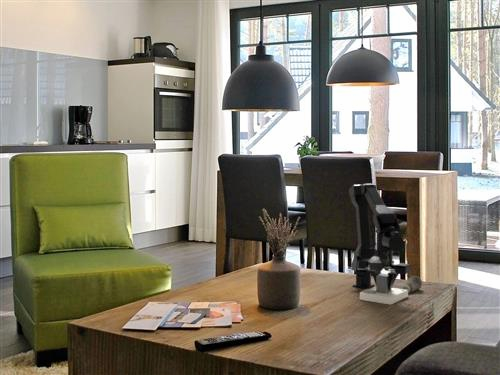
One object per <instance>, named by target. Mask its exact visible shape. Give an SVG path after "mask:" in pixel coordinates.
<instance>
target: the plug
mask: <svg viewBox="0 0 500 375" xmlns="http://www.w3.org/2000/svg"><path fill="white" fill-rule="evenodd" d="M388 282H389V276H388V273H382V272H381V274H378V275H376V284H375V286H376V292H379V293H385V294H389V293H390V292H391V291H388Z"/></svg>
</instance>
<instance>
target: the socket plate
mask: <svg viewBox="0 0 500 375" xmlns="http://www.w3.org/2000/svg"><path fill="white" fill-rule="evenodd" d="M408 294H409V293H408V290H404V289H402V288H397V287H392V288H391V292H390V293H389V294H385V293H379V292H376V285H374V286H372V287H369V288H365V289H364V290H362V291H361V292H359V300H361V301H366V302H371V303H378V304H386V305H393V304H395V303H397V302H400V301H401V300H405V299H406V298H408V297H409V296H408Z"/></svg>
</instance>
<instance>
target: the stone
mask: <svg viewBox="0 0 500 375" xmlns="http://www.w3.org/2000/svg"><path fill="white" fill-rule="evenodd" d="M422 287H423V281H422V279H421V278H420V277H419V276H416V275H411V276H410V277H409V278H408V279H407V281H406V282H405V284H404V285H403V286H402V288H401V289H404V290H408V294H409V293H413V292H415V291H418V290H420V289H421V288H422Z"/></svg>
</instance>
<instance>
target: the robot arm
mask: <svg viewBox="0 0 500 375" xmlns="http://www.w3.org/2000/svg"><path fill="white" fill-rule="evenodd" d="M348 193H349V194H348V195H349V197H350V202H351V203H352V205H353V206H354V208H355V216H356V229H357V230H356V232H357V243H358V244H357V247H356V249H355V250H354V257H353V259H352V262H350V268H351V270H352V271H353V272H355V283H353V284H352V285H351V286H352V287H358V288H364V289H370V288H373V287H375V286H376V275H378V274H381V273H382V271H383V270H390V271H389V272H387V274H388V276H389V282H388V291H391V288H393V286H394V284H395V281H396V280H397V278H398V276H399V275H407V274H410V273H412V269H413V268H412V265H411V264H410V263H404V262H400V263H397V264H395V260H394V259H393V258H394V257H393V255H394V254H393V253H397V252H400V251H402V250H403V248H404V247H405V241H404V238H403V237H402V236H401V235H400V233H401V226H400V223H399V221H398V217H397V215H396V214H395V212H394V211H393V210H392V209H391V208H390V207H388V206H386V205H385V203H384V201H383V199H382V196H381V194H380V193H379V191H378V189H377V184H375V183H363V184H352V185H351V187H350V188H349V190H348ZM369 207H370V209H371V211H372V213H373V216H372V222H373V224H374V227H375V233H376V247H373V245H372V242H371V228H370V216H369ZM372 278H373V280H374V283H372Z"/></svg>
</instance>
